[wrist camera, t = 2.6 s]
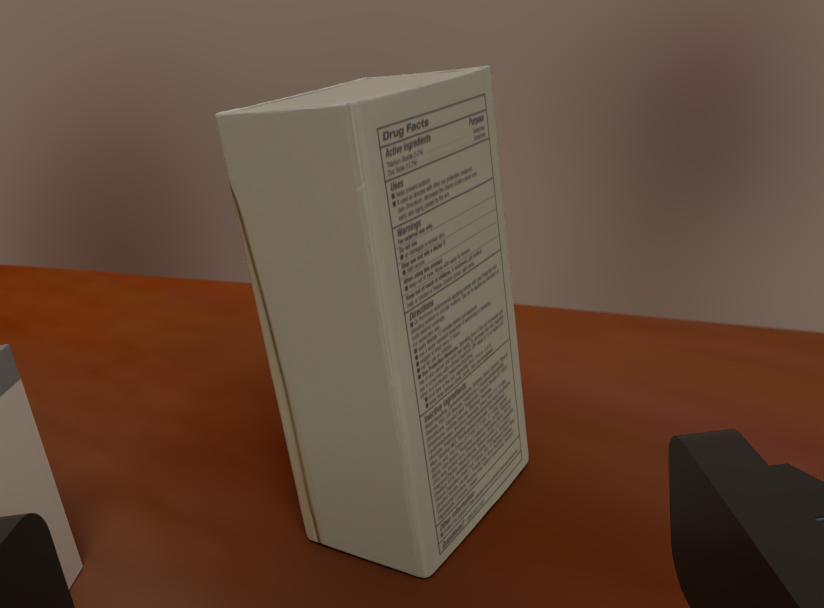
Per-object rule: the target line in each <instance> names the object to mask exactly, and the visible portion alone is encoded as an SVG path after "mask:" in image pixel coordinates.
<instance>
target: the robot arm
mask: <svg viewBox="0 0 824 608" xmlns="http://www.w3.org/2000/svg"><path fill="white" fill-rule="evenodd" d="M669 486H670V519H671V546H672V554H673V560H674V565H675V569H676V573H677V577H678V580H679V583H680V586H681V589H682V591H683V594H684V596H685V598H686V600H687V602H688V604H689V606H690V608H824V482H822V481H820V480H818V479H816V478H814V477H812V476H810V475H809V474H807V473H805V472H803V471H801V470H799V469H797V468H795V467H793V466H791V465H790V464H788V463H787V464H779V465H771V466H768V465H767V463H766V462H765V461H764V460H763V459H762V458H761V457H760V455H759V454H758V453H757V452H756V451H755V450H754V449H753V447H752V446H751V445H750V444H749V443H748V442H747V441H746V439H745V438H744V437H743V436H742V435H741V434H740V433H739V432H738V431H737V430H735V429H727V430H719V431H711V432H703V433H695V434H687V435H678V436H673V437H672V438H671V441H670V444H669ZM0 608H75V607H74V604H73V601H72V598H71V595H70V592H69V589H68V586H67V582H66V579H65V576H64V573H63V570H62V567H61V564H60V561H59V558H58V555H57V552H56V549H55V545H54V542H53V539H52V536H51V533H50V530H49V528H48V525H47V523H46V522H45V520H44V519H43V518H42V517H41V516H40V515H38V514H36V513H27V514H19V515H11V516H2V517H0Z"/></svg>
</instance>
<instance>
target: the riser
mask: <svg viewBox="0 0 824 608" xmlns="http://www.w3.org/2000/svg"><path fill="white" fill-rule="evenodd" d="M27 513H36V514H38V515H40V516H41V517H42V518H43V519H44V520H45V522H46V523H47V525H48V528H49V530H50V533H51V536H52V539H53V542H54V545H55V549H56V552H57V555H58V558H59V561H60V564H61V567H62V570H63V573H64V576H65V579H66V582H67V586H68V589H70V587H71V586H72V584H73V582H74V581H75V579H76V577H77V576H78V574H79V573H80V571H81V569H82V568H83V565H82V562H81V559H80V556H79V553H78V550H77V547H76V544H75V541H74V538H73V535H72V532H71V529H70V526H69V523H68V520H67V517H66V514H65V511H64V508H63V505H62V502H61V499H60V496H59V493H58V490H57V487H56V484H55V481H54V478H53V475H52V472H51V469H50V466H49V463H48V460H47V457H46V454H45V451H44V448H43V445H42V442H41V439H40V436H39V433H38V430H37V427H36V424H35V421H34V418H33V414H32V411H31V408H30V405H29V402H28V399H27V396H26V393H25V390H24V387H23V384H22V381H21V378H20V375H19V372H18V369H17V366H16V363H15V360H14V357H13V354H12V351H11V348H10V345H9V344H6V345H0V517H2V516H11V515H19V514H27Z"/></svg>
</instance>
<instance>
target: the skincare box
mask: <svg viewBox="0 0 824 608" xmlns="http://www.w3.org/2000/svg"><path fill="white" fill-rule="evenodd" d="M215 120H216V123H217V128H218V133H219V138H220V142H221V146H222V150H223V155H224V160H225V164H226V168H227V173H228V177H229V182H230V186H231V191H232V195H233V200H234V205H235V210H236V214H237V219H238V224H239V228H240V233H241V238H242V242H243V247H244V251H245V256H246V261H247V265H248V270H249V275H250V279H251V283H252V288H253V293H254V297H255V301H256V306H257V311H258V315H259V320H260V324H261V329H262V333H263V338H264V343H265V347H266V352H267V357H268V361H269V366H270V371H271V375H272V379H273V384H274V389H275V393H276V398H277V402H278V407H279V411H280V416H281V420H282V425H283V430H284V434H285V439H286V444H287V448H288V453H289V457H290V462H291V467H292V471H293V475H294V480H295V485H296V489H297V494H298V499H299V504H300V508H301V513H302V517H303V521H304V526H305V531H306V535H307V537H308V538H309V540H312V541H315V542H318V543H321V544H324V545H327V546H329V547H332V548H335V549H338V550H341V551H344V552H346V553H349V554H352V555H355V556H358V557H361V558H364V559H367V560H370V561H373V562H376V563H379V564H382V565H385V566H388V567H391V568H394V569H397V570H400V571H402V572H405V573H408V574H411V575H414V576H417V577H422V578H426V577H430V576H431V575H432V574H433V573H434V572H435V571H436V570H437V569H438V567H439V566H440V565H441V564H442V563H443V562H444V561H445V560H446V559H447V557H448V556H449V555H450V554H451V553H452V552H453V551H454V550H455V549H456V547H457V546H458V545H459V544H460V543H461V542H462V541H463V539H464V538H465V537H466V536H467V535H468V534H469V533H470V532H471V530H472V529H473V528H474V527H475V526H476V524H477V523H478V522H479V521H480V520H481V518H482V517H483V516H484V515H485V514H486V512H487V511H488V510H489V509H490V508H491V507H492V506H493V504H494V503H495V502H496V501H497V500H498V499H499V498H500V497H501V495H502V494H503V493H504V492H505V491H506V490H507V488H508V487H509V486H510V485H511V483H512V482H513V481H514V479H515V478H516V477H517V475H518V474H519V473H520V472H521V470H522V469H523V468H524V467H525V465H526V464H527V463H528V459H529V456H528V445H527V437H526V425H525V415H524V405H523V395H522V385H521V375H520V365H519V354H518V344H517V333H516V323H515V314H514V304H513V293H512V285H511V274H510V267H509V253H508V244H507V233H506V223H505V212H504V202H503V194H502V193H503V192H502V183H501V173H500V163H499V152H498V142H497V132H496V122H495V110H494V100H493V89H492V81H491V70H490V66H488V65H487V66H482V67H476V68H466V69H455V70H445V71H435V72H426V73H416V74H406V75H395V76H384V77H367V78H361V79H357V80H354V81H351V82H347V83H343V84H338V85H335V86H330V87H326V88H323V89H320V90H315V91H310V92H307V93H301V94H298V95H295V96H291V97H285V98H282V99H278V100H274V101H269V102H264V103H260V104H257V105H253V106H248V107H244V108H237V109H232V110H228V111H224V112H220V113H216V115H215Z"/></svg>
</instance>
